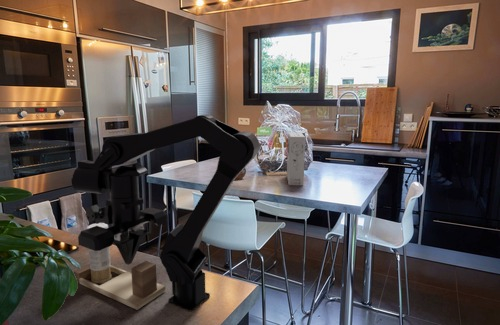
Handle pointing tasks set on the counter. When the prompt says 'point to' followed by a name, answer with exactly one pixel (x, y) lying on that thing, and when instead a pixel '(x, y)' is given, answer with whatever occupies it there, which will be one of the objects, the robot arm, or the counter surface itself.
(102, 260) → the sprinkles bottle
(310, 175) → the counter surface
